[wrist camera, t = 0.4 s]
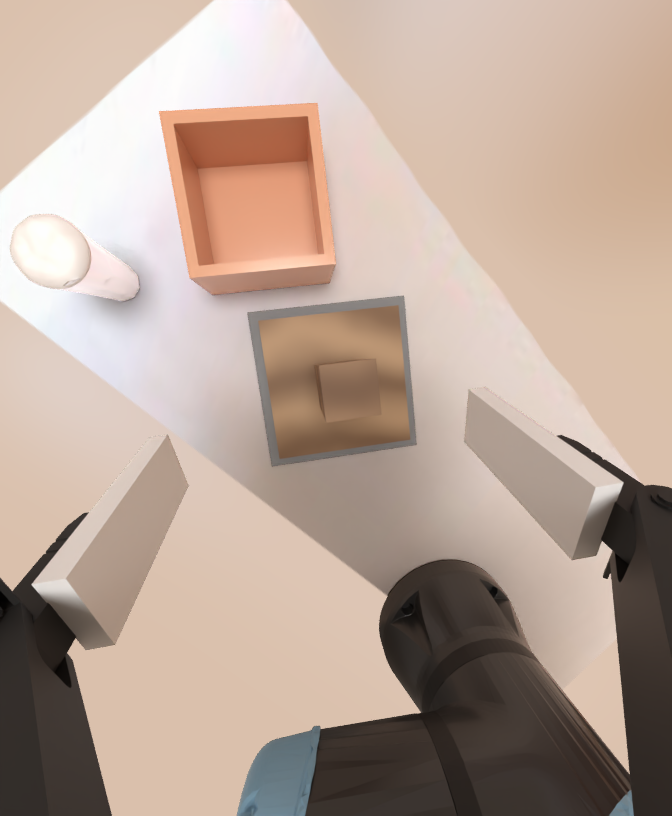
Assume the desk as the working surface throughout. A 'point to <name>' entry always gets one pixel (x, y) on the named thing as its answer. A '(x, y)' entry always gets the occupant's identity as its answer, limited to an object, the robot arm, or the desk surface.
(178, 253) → the desk surface
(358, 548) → the desk surface
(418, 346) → the desk surface
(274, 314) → the mat
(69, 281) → the milkshake
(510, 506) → the desk surface
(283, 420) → the lid
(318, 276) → the open peach box
